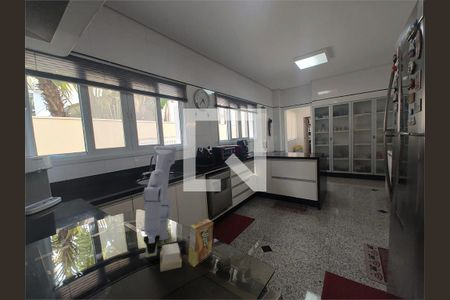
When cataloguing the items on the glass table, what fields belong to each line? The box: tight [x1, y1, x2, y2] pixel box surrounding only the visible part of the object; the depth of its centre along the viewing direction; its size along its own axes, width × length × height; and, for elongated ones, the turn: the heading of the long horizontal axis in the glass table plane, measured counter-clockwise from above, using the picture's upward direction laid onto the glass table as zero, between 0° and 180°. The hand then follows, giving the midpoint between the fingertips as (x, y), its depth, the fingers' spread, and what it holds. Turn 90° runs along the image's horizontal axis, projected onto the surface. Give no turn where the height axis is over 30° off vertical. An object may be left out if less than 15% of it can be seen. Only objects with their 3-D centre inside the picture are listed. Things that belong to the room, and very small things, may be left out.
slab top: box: [161, 242, 181, 263], centre depth 67 cm, size 6×6×3 cm
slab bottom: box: [159, 248, 183, 272], centre depth 67 cm, size 8×8×3 cm
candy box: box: [188, 218, 214, 268], centre depth 69 cm, size 9×4×15 cm, turn 137°
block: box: [145, 244, 158, 258], centre depth 68 cm, size 4×4×4 cm
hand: (151, 249), depth 68 cm, fingers closed on block, 4 cm apart
